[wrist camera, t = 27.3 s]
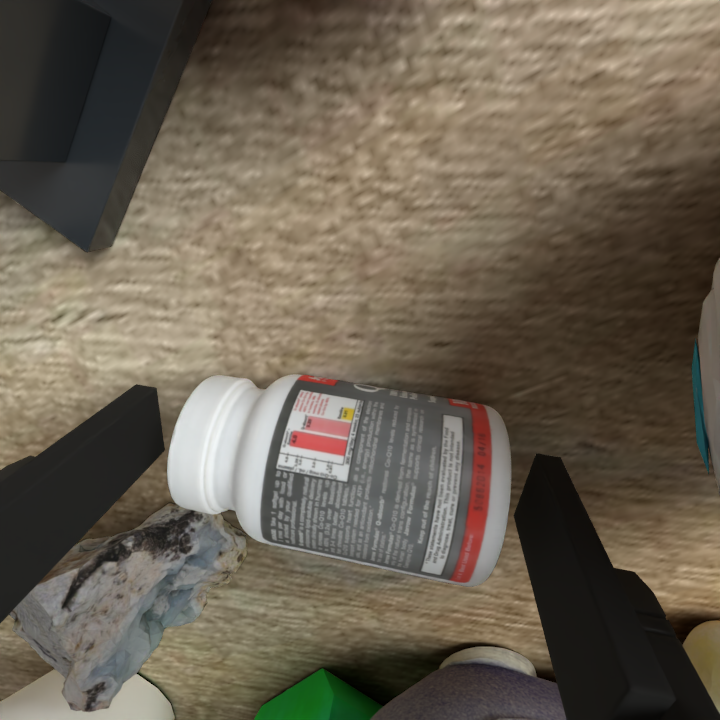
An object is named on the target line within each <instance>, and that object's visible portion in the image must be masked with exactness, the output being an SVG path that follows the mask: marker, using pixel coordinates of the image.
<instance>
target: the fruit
mask: <svg viewBox="0 0 720 720" xmlns="http://www.w3.org/2000/svg"><path fill="white" fill-rule="evenodd" d="M682 646H683V648H684V649H685V651H686V653H687V655H688V657H689V659H690V660H691V662H692V664H693V666H694V668H695V670H696V671H697V673H698V675H699V677H700V679H701V681H702V682H703V684H704V686H705V688H706V690H707V692H708V693H709V695H710V697H711V699H712V701H713V703H714V704H715V706H716V708H717V710H718V712H719V713H720V621H719V620H717V621H707V622H704V623H702V624H700V625H698V626H696V627H695V628H694V629H693V630H692V631H691V632H690V633H689V635H688V636H687V638H686V640H685V641H684V643H683V645H682Z"/></svg>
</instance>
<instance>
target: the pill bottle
mask: <svg viewBox="0 0 720 720" xmlns="http://www.w3.org/2000/svg"><path fill="white" fill-rule="evenodd" d="M167 479H168V486H169V491H170V494H171V497H172V499H173V500H174V501H175V503H176V504H177V505H179V506H180V507H183V508H185V509H190V510H194V511H198V512H203V513H208V514H213V515H214V514H219V513H221V512H225V511H227V510H233V511H235V512H236V515H237V518H238V521H239V523H240V525H241V526H242V528H243V530H244V531H245V532H246V533H247V534H248V535H249V536H250V537H252V538H253V539H255V540H257V541H259V542H262V543H266V544H270V545H273V546H278V547H282V548H286V549H291V550H296V551H301V552H305V553H310V554H315V555H320V556H324V557H329V558H334V559H338V560H343V561H348V562H353V563H357V564H362V565H367V566H371V567H376V568H380V569H384V570H389V571H393V572H398V573H403V574H407V575H412V576H417V577H421V578H426V579H430V580H435V581H439V582H444V583H448V584H455V585H461V586H466V587H474V586H477V585H480V584H482V583H483V582H484V581H485V580H487V578H488V577H489V576H490V574H491V573H492V571H493V569H494V567H495V565H496V563H497V561H498V558H499V555H500V552H501V548H502V545H503V541H504V536H505V532H506V527H507V520H508V513H509V505H510V493H511V452H510V443H509V437H508V433H507V429H506V426H505V423H504V421H503V419H502V417H501V416H500V414H499V413H498V412H497V411H496V410H494V409H493V408H491V407H489V406H486V405H482V404H478V403H474V402H467V401H462V400H456V399H449V398H443V397H436V396H430V395H424V394H417V393H412V392H405V391H400V390H393V389H387V388H381V387H375V386H369V385H363V384H356V383H350V382H345V381H340V380H333V379H327V378H321V377H315V376H309V375H299V374H292V375H287V376H284V377H281V378H279V379H278V380H276V381H274V382H273V383H272V384H271V385H270V386H269V387H268V388H267V389H266V390H264V389H258V387H257V386H256V385H255V384H254V383H253V382H252V381H251V380H249V379H246V378H238V377H231V376H224V375H214V376H211V377H209V378H207V379H205V380H204V381H203V382H201V383H200V384H199V385H198V386H197V387H196V388H195V390H194V391H193V392H192V393H191V395H190V396H189V398H188V399H187V401H186V403H185V405H184V407H183V408H182V410H181V413H180V415H179V417H178V420H177V422H176V425H175V428H174V432H173V435H172V439H171V443H170V448H169V453H168V462H167Z"/></svg>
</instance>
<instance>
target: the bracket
mask: <svg viewBox="0 0 720 720" xmlns="http://www.w3.org/2000/svg"><path fill="white" fill-rule="evenodd" d="M211 2H212V0H0V190H1V191H2V192H3V193H5V194H6V195H8V196H9V197H10V198H12V199H13V200H15V201H16V202H17V203H19V204H20V205H21V206H23V207H24V208H26V209H27V210H28V211H30V212H31V213H33V214H34V215H35V216H37V217H38V218H40V219H41V220H42V221H44V222H45V223H46V224H48V225H49V226H51V227H52V228H53V229H55V230H56V231H58V232H59V233H60V234H62V235H63V236H65V237H66V238H67V239H69V240H70V241H72V242H73V243H74V244H76V245H77V246H78V247H80V248H81V249H83V250H84V251H85V252H90V251H95V250H99V249H104V248H108V247H111V246H112V243H113V241H114V238H115V236H116V233H117V231H118V229H119V226H120V224H121V221H122V219H123V216H124V214H125V212H126V209H127V207H128V204H129V202H130V199H131V197H132V194H133V192H134V190H135V187H136V185H137V182H138V180H139V177H140V175H141V173H142V170H143V168H144V165H145V163H146V160H147V158H148V155H149V153H150V151H151V148H152V146H153V143H154V141H155V138H156V136H157V134H158V131H159V129H160V126H161V124H162V121H163V119H164V116H165V114H166V112H167V109H168V107H169V104H170V102H171V99H172V97H173V95H174V92H175V90H176V87H177V85H178V82H179V80H180V77H181V75H182V73H183V70H184V68H185V65H186V63H187V60H188V58H189V56H190V53H191V51H192V48H193V46H194V43H195V41H196V38H197V36H198V34H199V31H200V29H201V26H202V24H203V21H204V19H205V17H206V14H207V12H208V9H209V7H210V4H211Z"/></svg>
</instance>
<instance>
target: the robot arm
mask: <svg viewBox="0 0 720 720" xmlns="http://www.w3.org/2000/svg"><path fill="white" fill-rule="evenodd" d="M164 451H165V448H164V441H163V433H162V426H161V418H160V411H159V403H158V396H157V388H154V387H148V386H142V385H135V386H133V387H132V388H131V389H129V390H128V391H126V392H125V393H124V394H122V395H121V396H120V397H118V398H117V399H115V400H114V401H113V402H111V403H110V404H108V405H107V406H106V407H104V408H103V409H101V410H100V411H99V412H97V413H96V414H95V415H93V416H92V417H90V418H89V419H88V420H86V421H85V422H83V423H82V424H81V425H79V426H78V427H76V428H75V429H74V430H72V431H71V432H70V433H68V434H67V435H65V436H64V437H63V438H61V439H60V440H58V441H57V442H56V443H54V444H53V445H51V446H50V447H49V448H47V449H46V450H45V451H43V452H42V453H40V454H39V455H38V456H36V457H34V456H28V457H26V458H24V459H22V460H19V461H17V462H15V463H13V464H10V465H8V466H6V467H5V468H3V469H2V470H0V623H1V622H2V621H3V620H4V619H5V618H6V617H7V616H8V615H9V614H10V613H11V612H12V611H13V609H14V608H15V607H16V606H17V605H18V604H19V603H20V602H21V601H22V600H23V599H24V598H25V597H26V596H27V595H28V594H29V593H30V592H31V591H32V589H33V588H34V587H35V586H36V585H37V584H38V583H39V582H40V581H41V580H42V579H43V578H44V577H45V576H46V575H47V574H48V573H49V572H50V571H51V570H52V568H53V567H54V566H55V565H56V564H57V563H58V562H59V561H60V560H61V559H62V558H63V557H64V556H65V555H66V554H67V553H68V552H69V551H70V550H71V548H72V547H73V546H74V545H75V544H76V543H77V542H78V541H79V540H80V539H81V538H82V537H83V536H84V535H85V534H86V533H87V532H88V531H89V530H90V528H91V527H92V526H93V525H94V524H95V523H96V522H97V521H98V520H99V519H100V518H101V517H102V516H103V515H104V514H105V513H106V512H107V511H108V510H109V509H110V507H111V506H112V505H113V504H114V503H115V502H116V501H117V500H118V499H119V498H120V497H121V496H122V495H123V494H124V493H125V492H126V491H127V490H128V489H129V487H130V486H131V485H132V484H133V483H134V482H135V481H136V480H137V479H138V478H139V477H140V476H141V475H142V474H143V473H144V472H145V471H146V470H147V469H148V468H149V466H150V465H151V464H152V463H153V462H154V461H155V460H156V459H157V458H158V457H159V456H160V455H161V454H162V453H163V452H164ZM514 519H515V523H516V527H517V530H518V534H519V538H520V542H521V546H522V550H523V554H524V557H525V561H526V565H527V569H528V573H529V577H530V581H531V585H532V588H533V592H534V596H535V600H536V604H537V608H538V612H539V615H540V619H541V623H542V627H543V631H544V635H545V639H546V642H547V646H548V650H549V654H550V658H551V662H552V666H553V670H554V673H555V677H556V681H557V685H558V689H559V693H560V697H561V700H562V704H563V708H564V712H565V716H566V720H720V713H719V712H718V710H717V708H716V706H715V704H714V703H713V701H712V699H711V697H710V695H709V693H708V692H707V690H706V688H705V686H704V684H703V682H702V681H701V679H700V677H699V675H698V673H697V671H696V670H695V668H694V666H693V664H692V662H691V660H690V659H689V657H688V655H687V653H686V651H685V649H684V648H683V646H682V644H681V642H680V640H679V639H677V638H676V633H675V631H674V629H673V628H672V626H671V624H670V622H669V620H667V619H666V615H665V613H664V611H663V609H662V607H661V606H660V604H659V602H658V600H657V598H656V596H655V595H654V593H653V592H652V591H651V589H650V588H649V587H648V586H647V585H646V584H645V583H644V582H643V581H642V580H641V579H640V577H639V576H638V575H637V574H636V573H635V572H632V571H627V570H622V569H616V568H613V566H612V564H611V562H610V559H609V557H608V555H607V553H606V551H605V549H604V547H603V545H602V543H601V541H600V539H599V536H598V534H597V532H596V530H595V528H594V526H593V524H592V522H591V520H590V518H589V516H588V514H587V511H586V509H585V507H584V505H583V503H582V501H581V499H580V497H579V495H578V493H577V491H576V488H575V486H574V484H573V482H572V480H571V478H570V476H569V474H568V472H567V470H566V468H565V466H564V463H563V461H562V459H561V457H555V456H549V455H543V454H537V453H536V456H535V458H534V461H533V464H532V467H531V469H530V472H529V475H528V477H527V480H526V483H525V486H524V488H523V491H522V494H521V497H520V499H519V502H518V505H517V508H516V510H515V513H514Z"/></svg>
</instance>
